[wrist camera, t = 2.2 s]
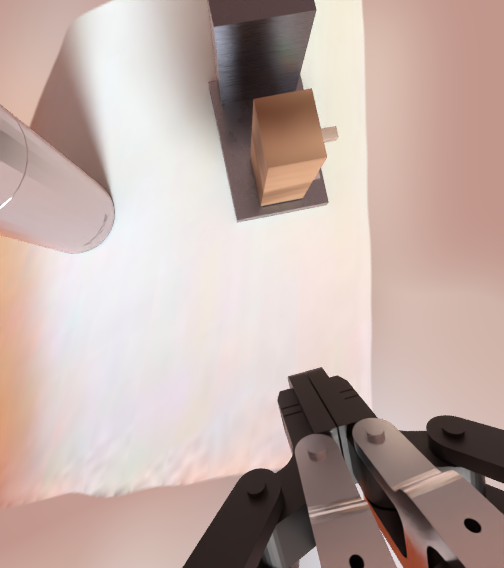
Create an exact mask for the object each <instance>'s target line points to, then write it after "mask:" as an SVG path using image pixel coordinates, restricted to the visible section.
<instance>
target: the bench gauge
mask: <svg viewBox="0 0 504 568" xmlns="http://www.w3.org/2000/svg"><path fill="white" fill-rule="evenodd" d="M208 9H209V17H210V26H211V34H212V43H213V51H214V60H215V68H216V77H217V81H212V82H209V87H210V92H211V97H212V102H213V107H214V112H215V116H216V121H217V126H218V131H219V136H220V141H221V145H222V150H223V155H224V160H225V165H226V170H227V174H228V179H229V184H230V189H231V194H232V199H233V203H234V208H235V213H236V218H237V222H242V221H247V220H253V219H258V218H263V217H268V216H273V215H278V214H283V213H288V212H293V211H298V210H303V209H309V208H314V207H319V206H324V205H327V204H328V198H327V193H326V189H325V184H324V180H323V175H322V171H321V168H320V170H319V171H318V173H317V175H316V177H315V178H314V180H313V182H312V183H311V185H310V187H309V188H308V190H307V192H306V193H305V195H304V197H303V198H301V199H296V200H290V201H285V202H280V203H275V204H270V205H265V206H261V205H260V200H259V195H258V190H257V186H256V181H255V176H254V172H253V167H252V162H251V157H250V155H251V137H252V118H253V100H254V99H256V98H262V97H267V96H273V95H278V94H284V93H290V92H295V91H301V90H304V89H303V85H302V80H301V76H300V72H301V68H302V64H303V60H304V56H305V52H306V48H307V44H308V41H309V37H310V33H311V29H312V25H313V21H314V17H315V13H316V6H315V2H314V0H208Z"/></svg>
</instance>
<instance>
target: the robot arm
mask: <svg viewBox="0 0 504 568" xmlns="http://www.w3.org/2000/svg"><path fill="white" fill-rule="evenodd" d="M113 222H114V206H113V203H112V200H111V197H110V196H109V194H108V193H107V191H106V190H105V189H104V188H103V187H102V186H101V185H100V184H99V183H98V182H96V181H95V180H94V179H93V178H91V177H90V176H89V175H88V174H86V173H85V172H84V171H83V170H82V169H80V168H79V167H78V166H77V165H75V164H74V163H73V162H72V161H70V160H69V159H68V158H67V157H65V156H64V155H63V154H62V153H60V152H59V151H58V150H57V149H55V148H54V147H53V146H52V145H50V144H49V143H48V142H47V141H45V140H44V139H43V138H42V137H40V136H39V135H38V134H37V133H35V132H34V131H33V130H32V129H30V128H29V127H28V126H26V125H25V124H24V123H23V122H21V121H20V120H19V119H18V118H17V117H15V116H14V115H13V114H11V113H10V112H9V111H8V110H7V109H5V108H4V107H3V106H1V105H0V235H1V236H5V237H9V238H12V239H16V240H20V241H24V242H27V243H31V244H35V245H39V246H42V247H46V248H50V249H53V250H57V251H61V252H66V253H82V252H86V251H89V250H91V249H93V248H95V247H97V246H98V245H99V244H101V243H102V242H103V241H104V239H105V238H106V237H107V236H108V234H109V232H110V231H111V229H112V225H113ZM288 381H289V386H290V389H287V390H284V391H280V393H279V396H278V405H279V409H280V413H281V417H282V421H283V425H284V429H285V433H286V436H287V439H288V442H289V445H290V448H291V451H292V458H291V460H290V461H289V463H288V464H287V465H286V466H285V467H284V468H282V469H281V470H280V471H278V472H277V473H273V472H272V471H270V470H268V469H262V468H260V469H254V470H251V471H249V472H247V473H246V474H244V475H243V476H242V477H241V478H240V479H239V481H238V482H237V484H236V485H235V487H234V488H233V490H232V491H231V493H230V494H229V496H228V498H227V499H226V501H225V502H224V504H223V505H222V507H221V509H220V510H219V512H218V513H217V515H216V516H215V518H214V519H213V521H212V523H211V524H210V526H209V527H208V529H207V530H206V532H205V534H204V535H203V537H202V538H201V540H200V541H199V543H198V544H197V546H196V547H195V549H194V551H193V552H192V554H191V555H190V557H189V558H188V560H187V561H186V563H185V565H184V566H183V568H299V559H300V558H301V557H303V556H304V555H305V554H307V553H308V552H309V551H310V550H311V549H313V548H314V547H315V546H316V547H317V551H318V555H319V559H320V564H321V568H397V567H396V565H395V562H394V560H393V558H392V556H391V553H390V551H389V549H388V547H387V544H386V542H385V540H384V538H383V535H384V537H385V538H386V540H387V542H388V543H389V545H390V547H391V548H392V550H393V551H394V553H395V555H396V556H397V558H398V560H399V561H400V563H401V564H402V566H403V568H504V491H502V490H500V489H498V488H495V487H493V486H490V485H487V484H485V476H486V477H488V478H491V479H493V480H496V481H499V482H502V483H504V430H502V429H498V428H495V427H491V426H488V425H484V424H480V423H477V422H473V421H470V420H466V419H463V418H459V417H454V416H446V415H445V416H437V417H434V418H432V419H431V420H430V421H429V422H428V423H427V426H426V429H427V431H400V430H398V429H397V428H396V427H395V426H394V425H392V424H391V423H389V422H388V421H386V420H383V419H379V418H377V417H376V415H375V414H374V413H373V412H372V410H371V409H370V408H369V407H368V406H367V404H366V403H365V402H364V401H363V399H362V398H361V397H360V396H359V395H358V393H357V392H356V391H355V390H354V389H353V387H352V386H351V385H350V384H349V382H348V381H347V380H345V379H343V378H341V377H339V376H334V377H330V378H329V377H328V375H327V374H326V372H325V371H324V370H323V368H322V367H320V368H317V369H313V370H310V371H306V372H303V373H299V374H295V375H292V376H288ZM356 483H359V485H360V487H361V489H362V491H363V496H364V500H362V499H361V497H360V495H359V493H358V490H357V488H356V486H355V484H356ZM380 530H381V531H380ZM381 532H382V533H383V535H382V533H381Z"/></svg>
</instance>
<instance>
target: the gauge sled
mask: <svg viewBox="0 0 504 568" xmlns="http://www.w3.org/2000/svg"><path fill="white" fill-rule="evenodd" d="M337 138H338V133H337V128H336V126H334V127H329V128H323V129H321V127H320V123H319V118H318V114H317V110H316V105H315V101H314V96H313V92H312V89H306V90H301V91H295V92H290V93H284V94H278V95H273V96H267V97H262V98H256V99H254V100H253V118H252V137H251V155H250V157H251V162H252V167H253V172H254V176H255V181H256V186H257V190H258V195H259V200H260V205H261V206H265V205H270V204H275V203H280V202H285V201H290V200H296V199H301V198H303V197H304V195H305V193H306V192H307V190H308V188H309V187H310V185H311V183H312V182H313V180H314V178H315V177H316V175H317V173H318V171H319V170H320V168H321V166H322V165H323V163H324V161H325V160H326V158H327V154H326V150H325V145H324V142H330V141H335V140H337Z"/></svg>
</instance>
